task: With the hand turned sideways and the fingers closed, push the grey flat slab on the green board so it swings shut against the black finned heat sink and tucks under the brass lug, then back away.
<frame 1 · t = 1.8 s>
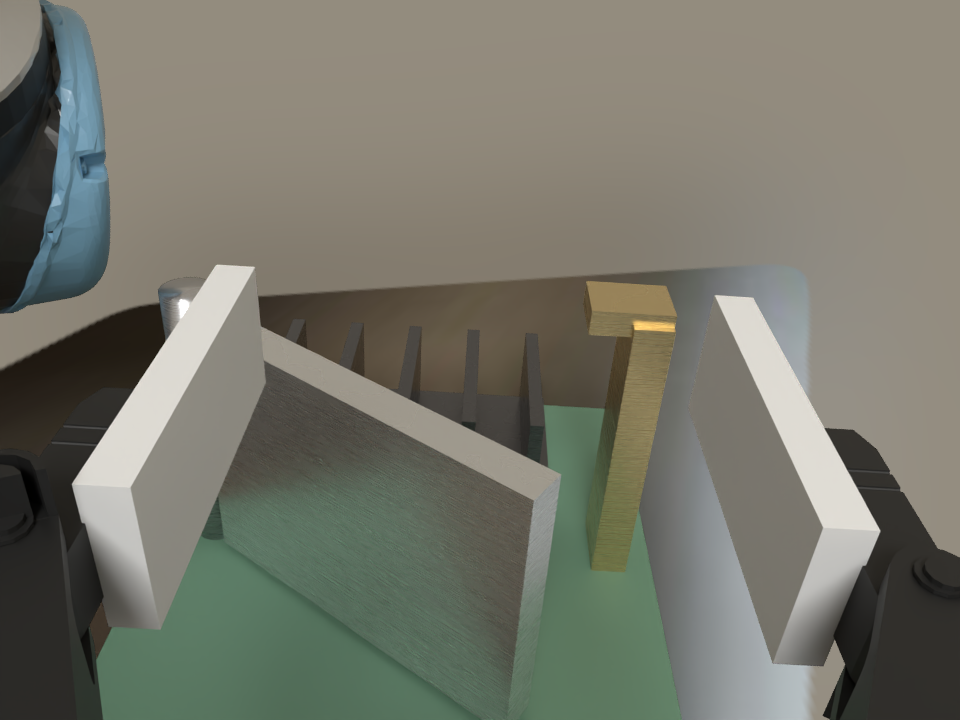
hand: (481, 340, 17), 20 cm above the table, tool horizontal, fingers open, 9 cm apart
motherboard: (222, 548, 39), on the table
grey flat slab: (360, 514, 31), point 7 cm above the table, hinge at 35.0°
heat sink: (420, 370, 38), on the motherboard, point 8 cm above the table
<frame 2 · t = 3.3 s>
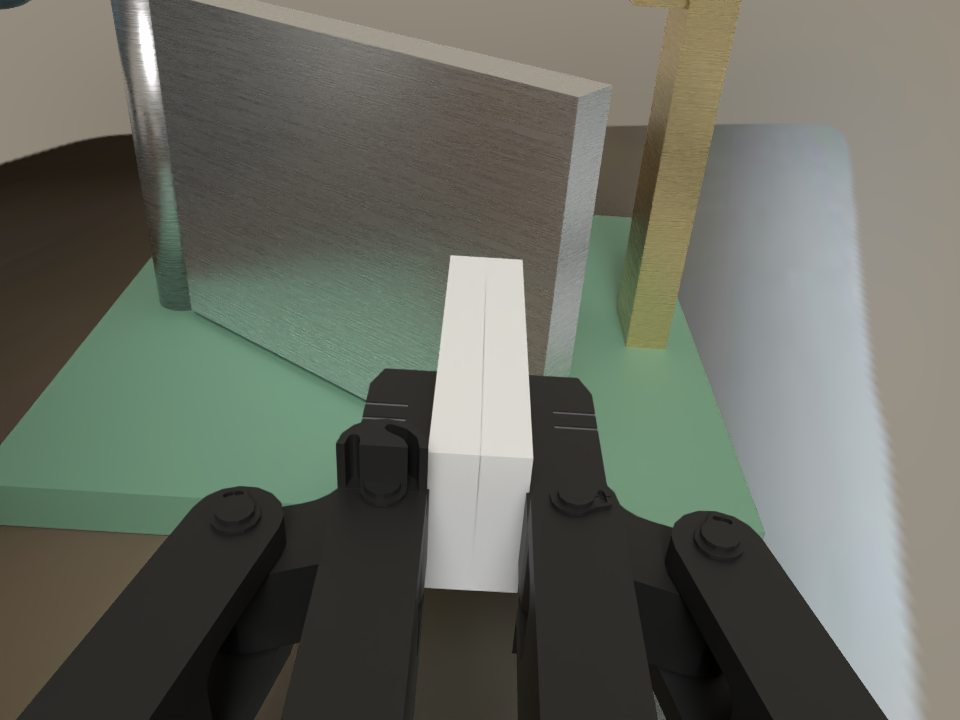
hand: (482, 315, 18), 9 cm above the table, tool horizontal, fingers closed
motherboard: (191, 331, 33), on the table
grey flat slab: (351, 224, 25), point 7 cm above the table, hinge at 35.0°
heat sink: (423, 117, 32), on the motherboard, point 8 cm above the table
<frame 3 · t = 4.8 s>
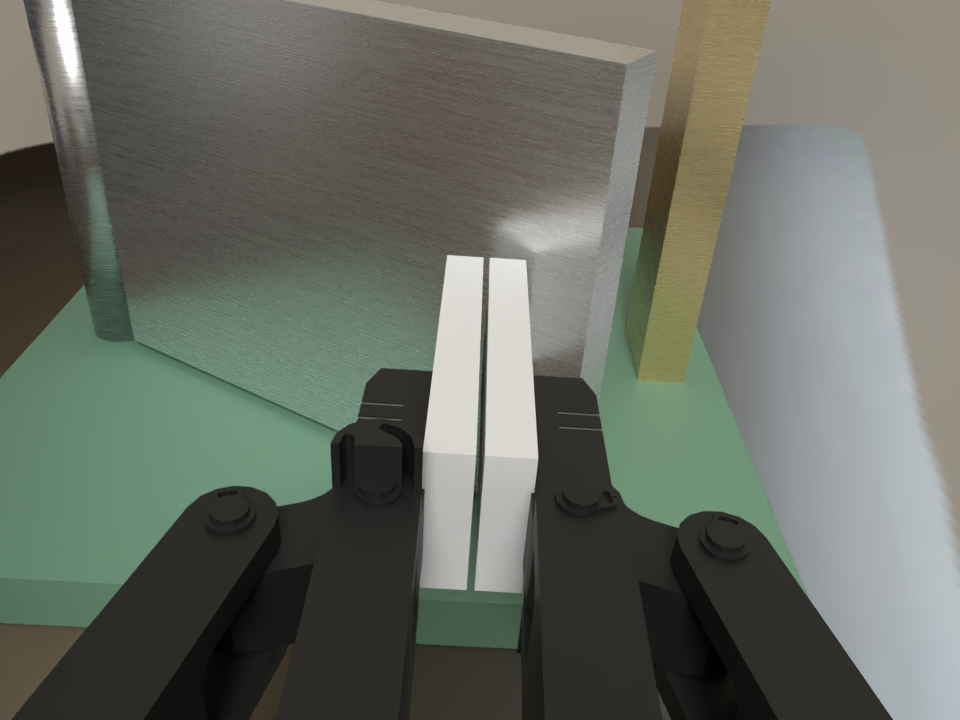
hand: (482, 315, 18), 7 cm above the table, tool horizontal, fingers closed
motherboard: (134, 364, 29), on the table
grey flat slab: (328, 232, 21), point 7 cm above the table, hinge at 30.1°, touching gripper
heat sink: (400, 115, 28), on the motherboard, point 8 cm above the table
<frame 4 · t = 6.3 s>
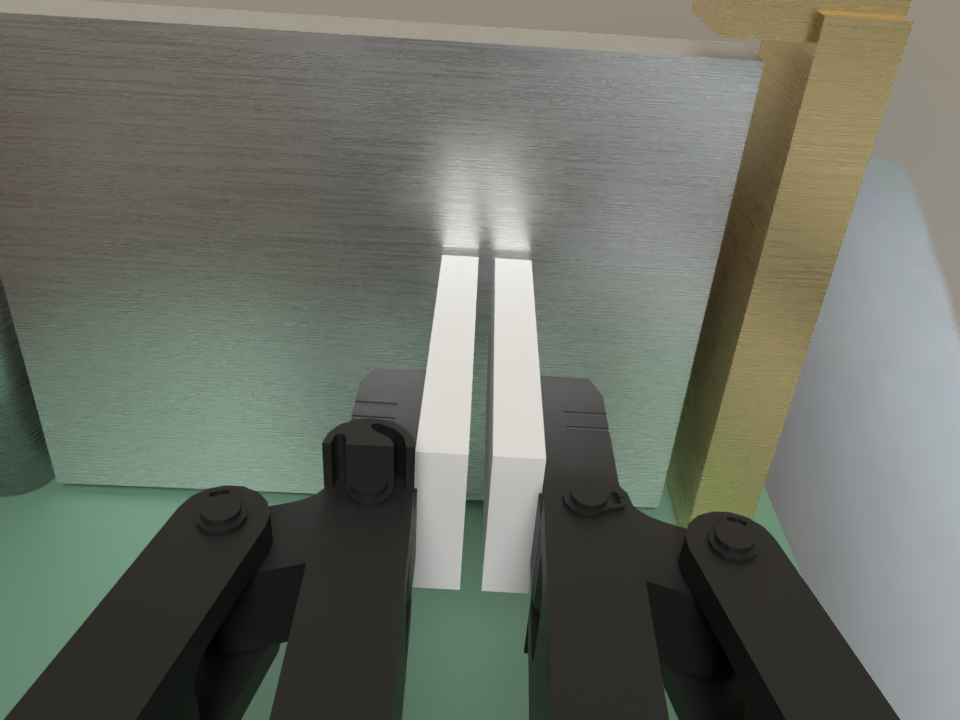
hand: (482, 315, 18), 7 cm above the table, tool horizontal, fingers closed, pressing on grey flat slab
motherboard: (33, 513, 22), on the table
grey flat slab: (362, 286, 19), point 7 cm above the table, hinge at -0.9°, touching gripper
heat sink: (375, 195, 22), on the motherboard, point 8 cm above the table
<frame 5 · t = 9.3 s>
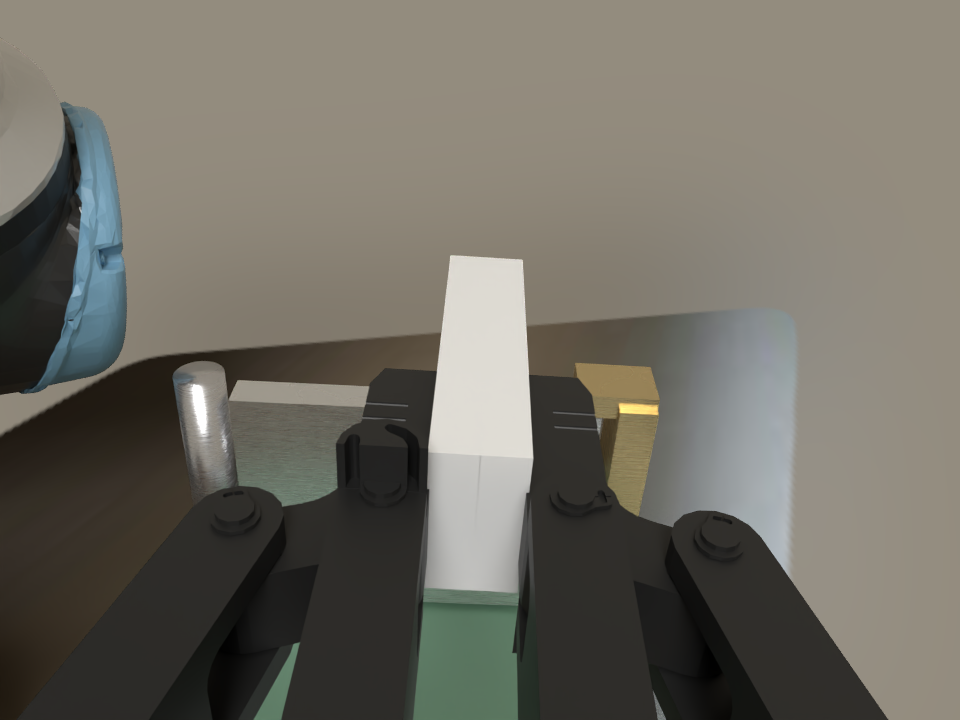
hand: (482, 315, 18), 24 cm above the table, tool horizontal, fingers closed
motherboard: (232, 607, 41), on the table
grey flat slab: (415, 501, 37), point 7 cm above the table, hinge at -0.8°
heat sink: (419, 437, 40), on the motherboard, point 8 cm above the table
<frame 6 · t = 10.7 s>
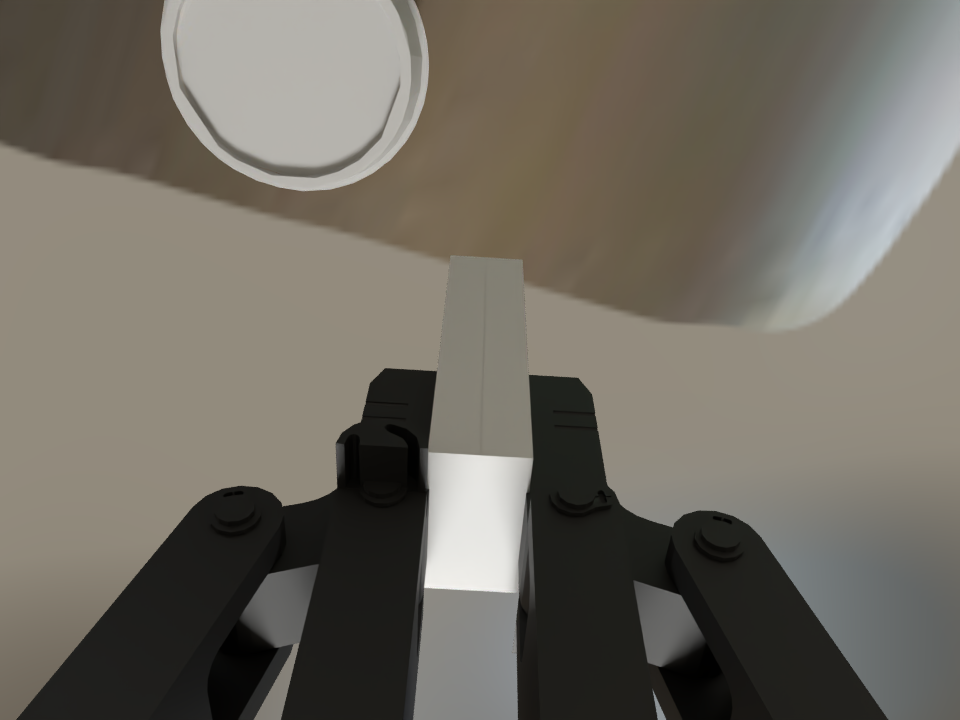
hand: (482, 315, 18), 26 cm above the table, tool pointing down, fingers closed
disposable coffee cup: (347, 20, 39), on the table
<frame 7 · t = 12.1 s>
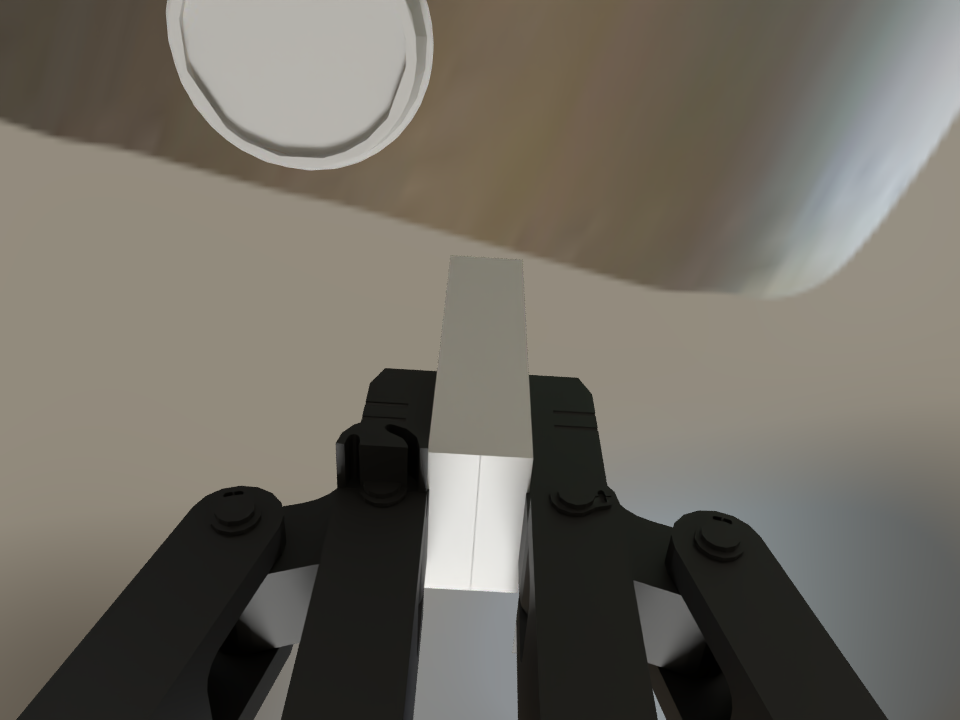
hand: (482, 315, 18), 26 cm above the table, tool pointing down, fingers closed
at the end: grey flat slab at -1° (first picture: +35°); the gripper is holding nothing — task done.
